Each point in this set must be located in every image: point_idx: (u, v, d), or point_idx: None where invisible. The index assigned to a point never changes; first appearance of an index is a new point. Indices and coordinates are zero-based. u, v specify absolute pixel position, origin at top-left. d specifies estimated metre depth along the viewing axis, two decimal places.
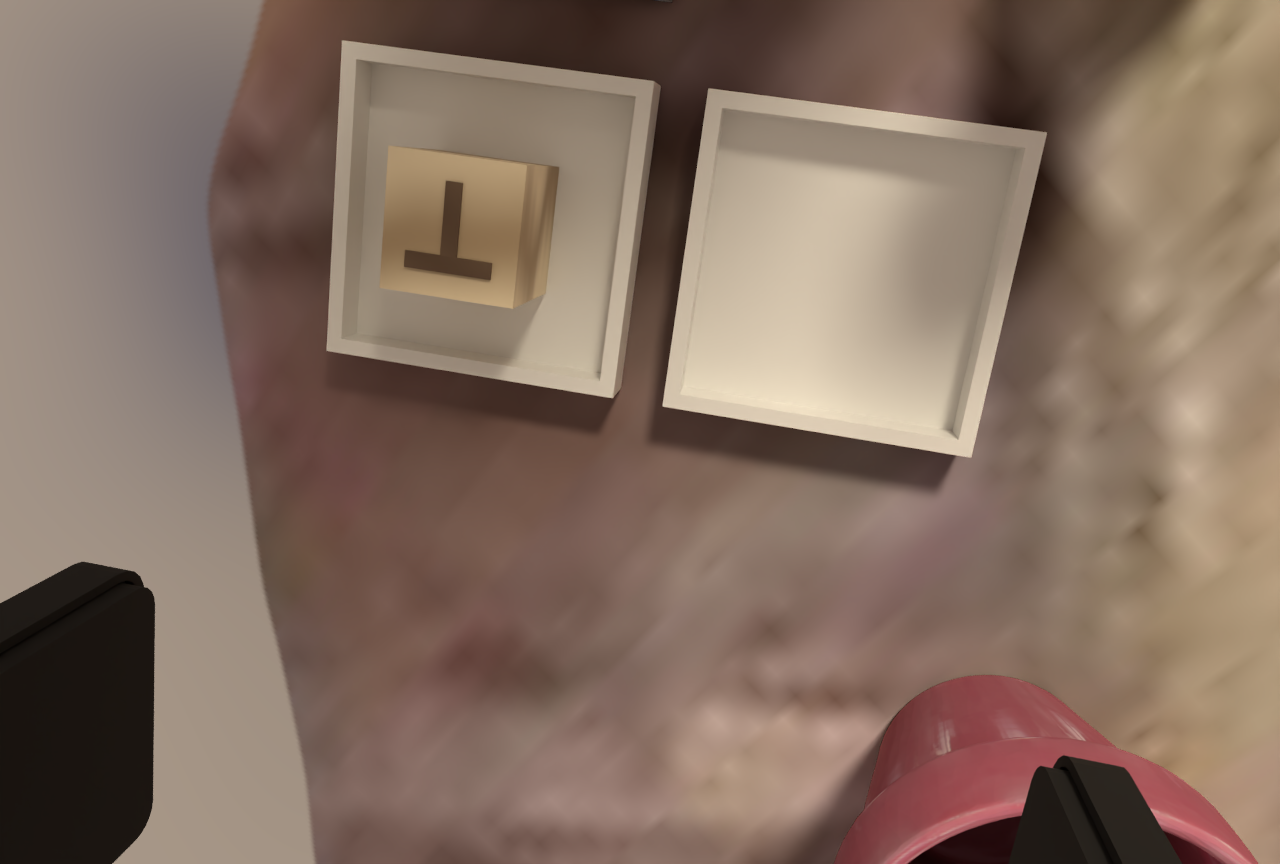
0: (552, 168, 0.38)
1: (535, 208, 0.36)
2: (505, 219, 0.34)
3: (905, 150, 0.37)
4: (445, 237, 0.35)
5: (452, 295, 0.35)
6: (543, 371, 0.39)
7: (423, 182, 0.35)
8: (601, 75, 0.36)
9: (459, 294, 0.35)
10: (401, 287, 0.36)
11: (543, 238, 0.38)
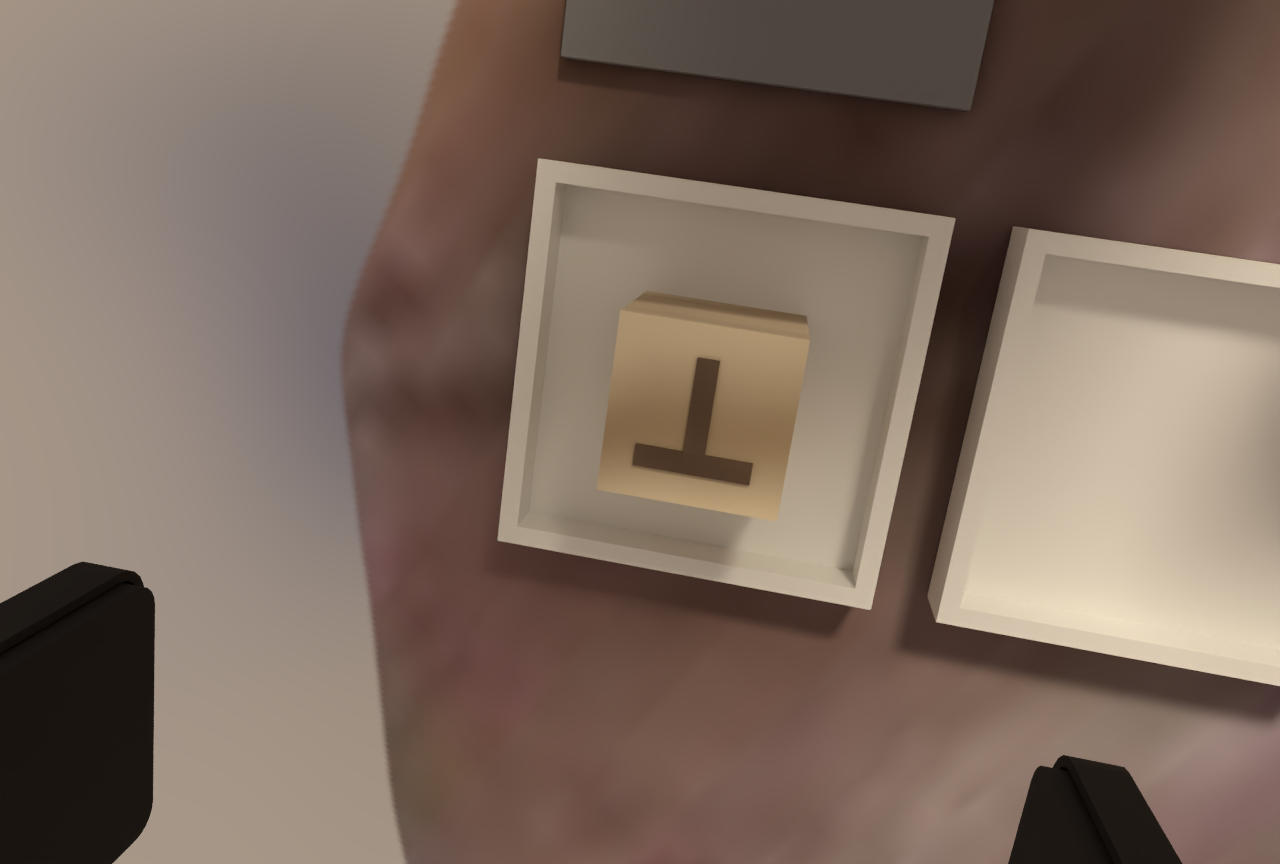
0: None
1: None
2: (775, 408, 0.26)
3: (1274, 306, 0.28)
4: (691, 429, 0.26)
5: (695, 502, 0.27)
6: (780, 573, 0.31)
7: (666, 358, 0.26)
8: (884, 209, 0.28)
9: (705, 501, 0.27)
10: (626, 490, 0.27)
11: None
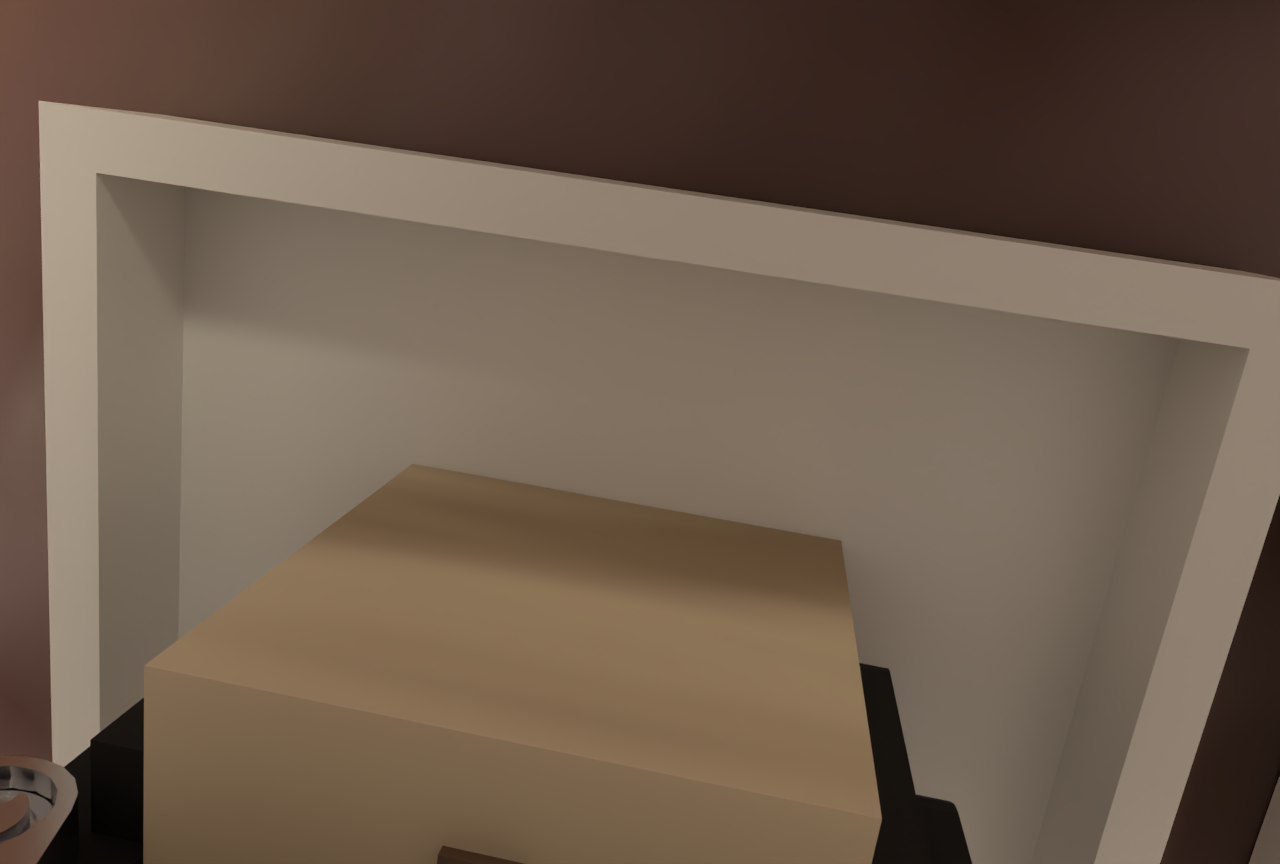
0: None
1: None
2: None
3: None
4: None
5: None
6: None
7: (326, 841, 0.07)
8: (1104, 260, 0.09)
9: None
10: None
11: None
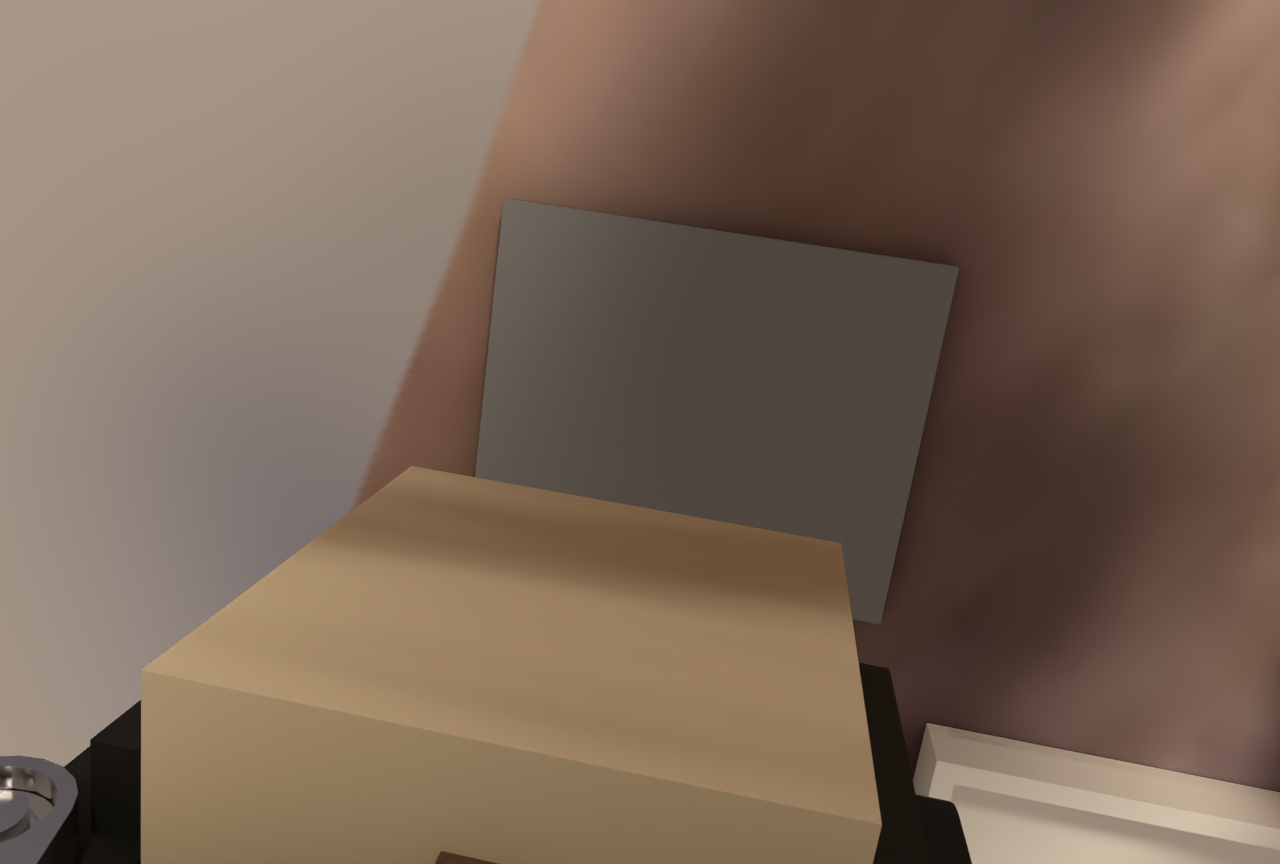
0: (846, 591, 0.10)
1: None
2: None
3: None
4: None
5: None
6: None
7: (324, 844, 0.07)
8: None
9: None
10: None
11: None
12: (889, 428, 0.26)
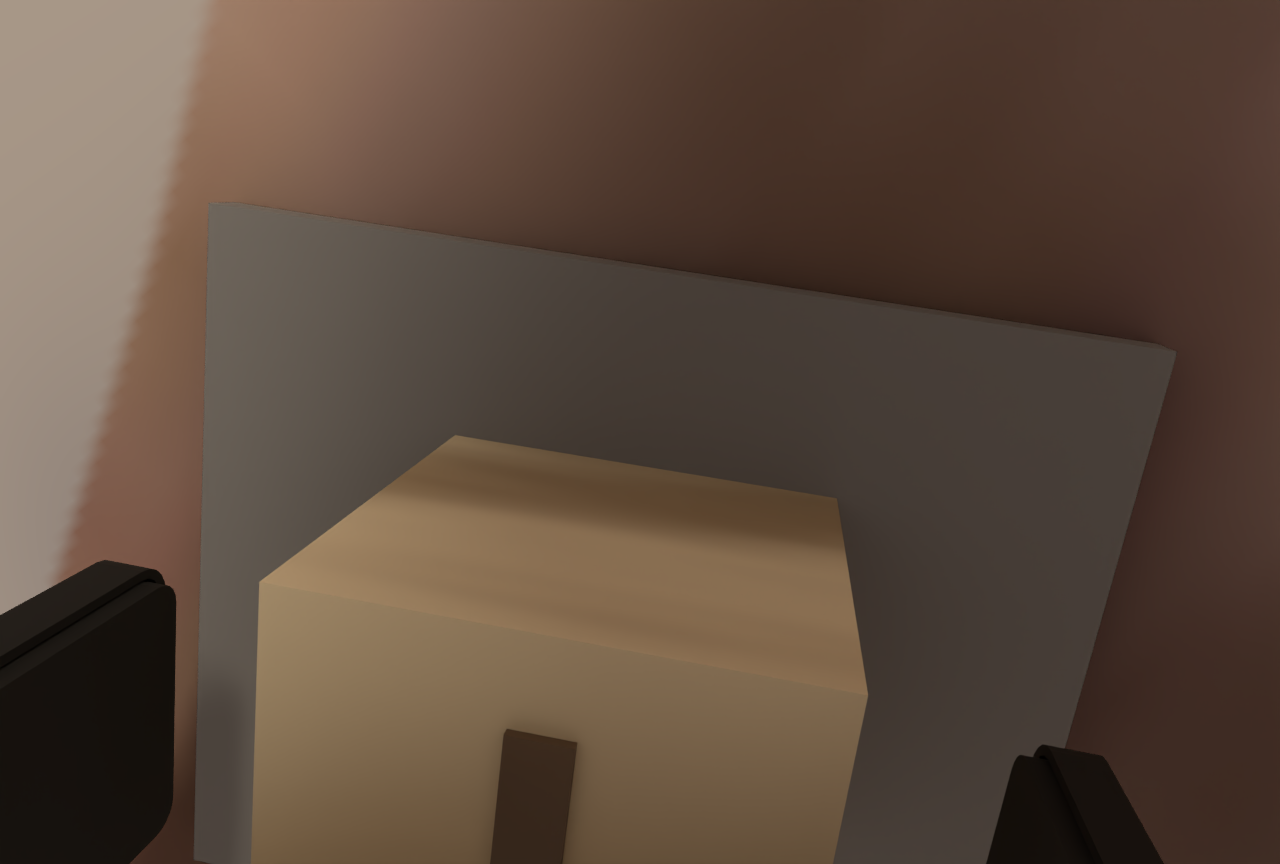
0: None
1: None
2: None
3: None
4: None
5: None
6: None
7: (410, 727, 0.08)
8: None
9: None
10: None
11: None
12: (1011, 678, 0.13)
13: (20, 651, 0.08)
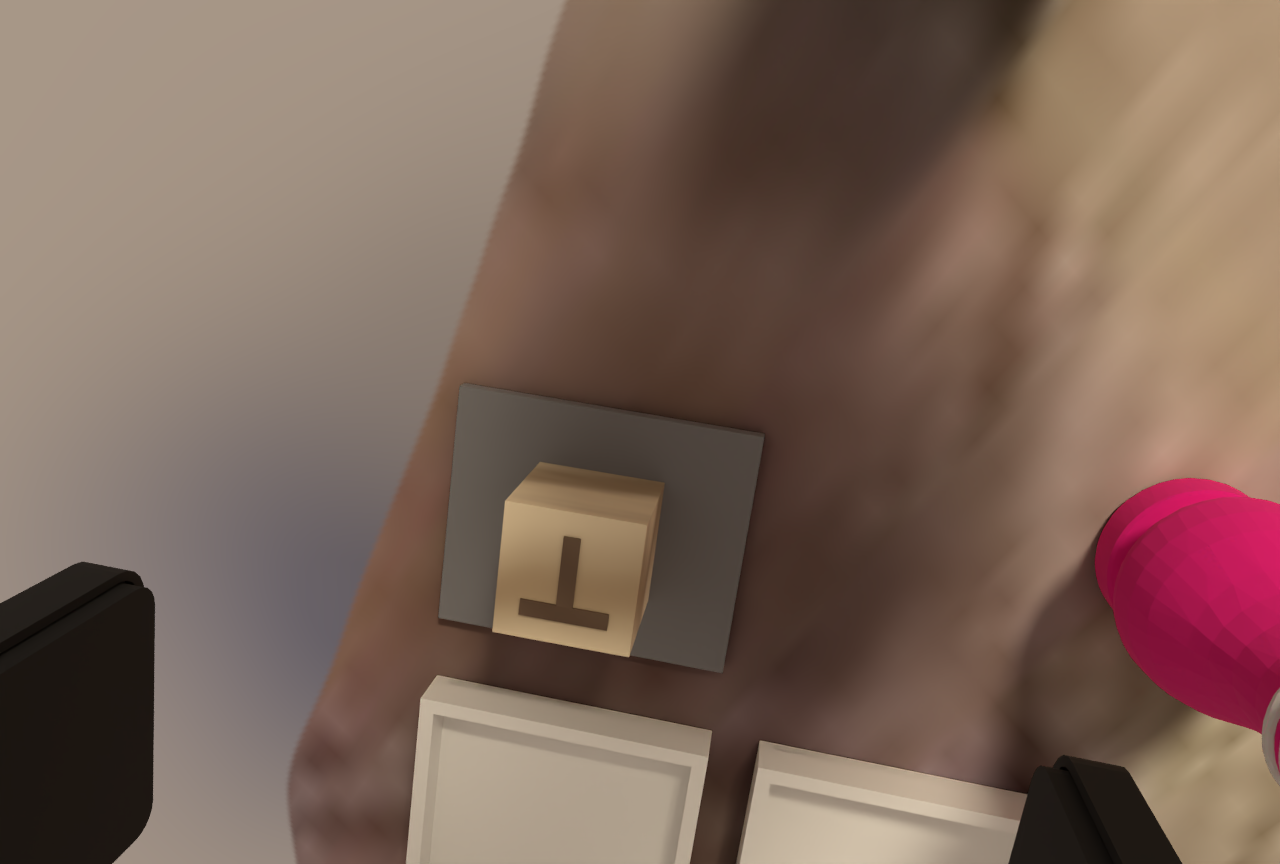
0: (660, 493, 0.37)
1: (648, 547, 0.36)
2: (623, 574, 0.34)
3: None
4: (561, 589, 0.34)
5: (567, 642, 0.35)
6: None
7: (540, 536, 0.34)
8: (659, 748, 0.40)
9: (574, 641, 0.35)
10: (515, 632, 0.35)
11: (650, 560, 0.38)
12: (723, 541, 0.39)
13: None
